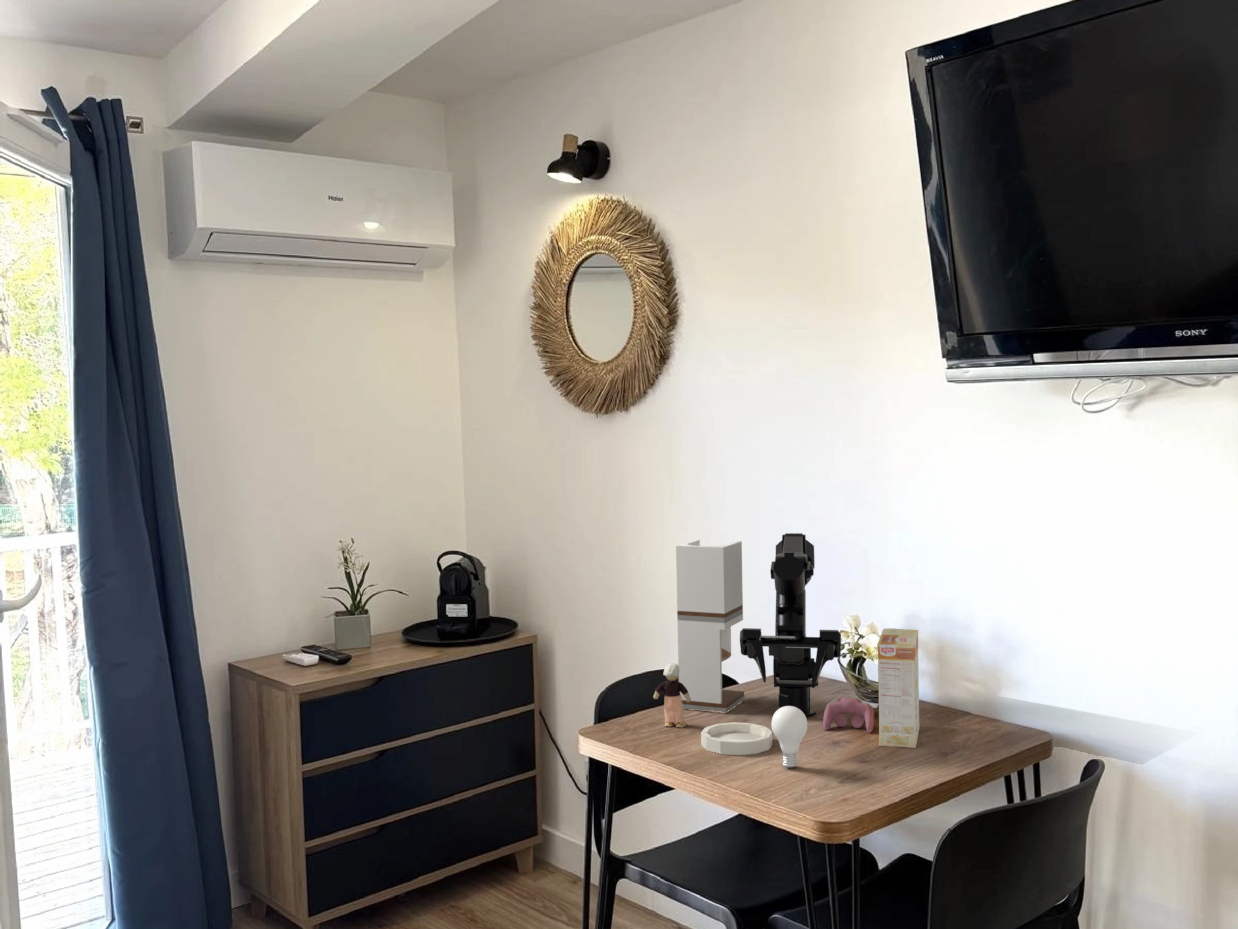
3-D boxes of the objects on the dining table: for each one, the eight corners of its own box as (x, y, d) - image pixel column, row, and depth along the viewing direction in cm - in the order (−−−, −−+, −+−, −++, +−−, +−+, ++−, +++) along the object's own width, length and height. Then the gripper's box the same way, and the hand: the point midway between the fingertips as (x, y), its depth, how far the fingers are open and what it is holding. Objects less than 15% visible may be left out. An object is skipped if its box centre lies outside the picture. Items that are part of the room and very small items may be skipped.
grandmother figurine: (692, 723, 229) (690, 661, 229) (691, 728, 225) (690, 665, 225) (654, 722, 230) (653, 661, 229) (653, 728, 226) (651, 665, 226)
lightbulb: (768, 763, 202) (767, 702, 202) (803, 761, 203) (802, 701, 202) (776, 774, 196) (775, 712, 195) (812, 772, 196) (811, 710, 196)
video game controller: (874, 737, 222) (876, 701, 225) (872, 732, 218) (873, 696, 221) (824, 733, 225) (826, 698, 228) (821, 729, 221) (823, 693, 224)
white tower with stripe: (726, 714, 235) (723, 547, 234) (679, 709, 240) (676, 545, 238) (744, 700, 246) (741, 541, 244) (698, 696, 250) (696, 539, 249)
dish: (733, 730, 223) (733, 718, 223) (785, 744, 213) (785, 731, 213) (688, 745, 214) (688, 732, 214) (740, 759, 205) (739, 746, 204)
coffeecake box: (883, 724, 225) (882, 627, 224) (920, 726, 223) (919, 629, 222) (877, 746, 211) (876, 643, 210) (916, 748, 209) (915, 644, 208)
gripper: (839, 635, 221) (841, 705, 211) (743, 633, 224) (741, 702, 214) (840, 602, 213) (841, 674, 203) (741, 601, 216) (738, 672, 206)
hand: (789, 682), depth 207 cm, fingers open, 9 cm apart
